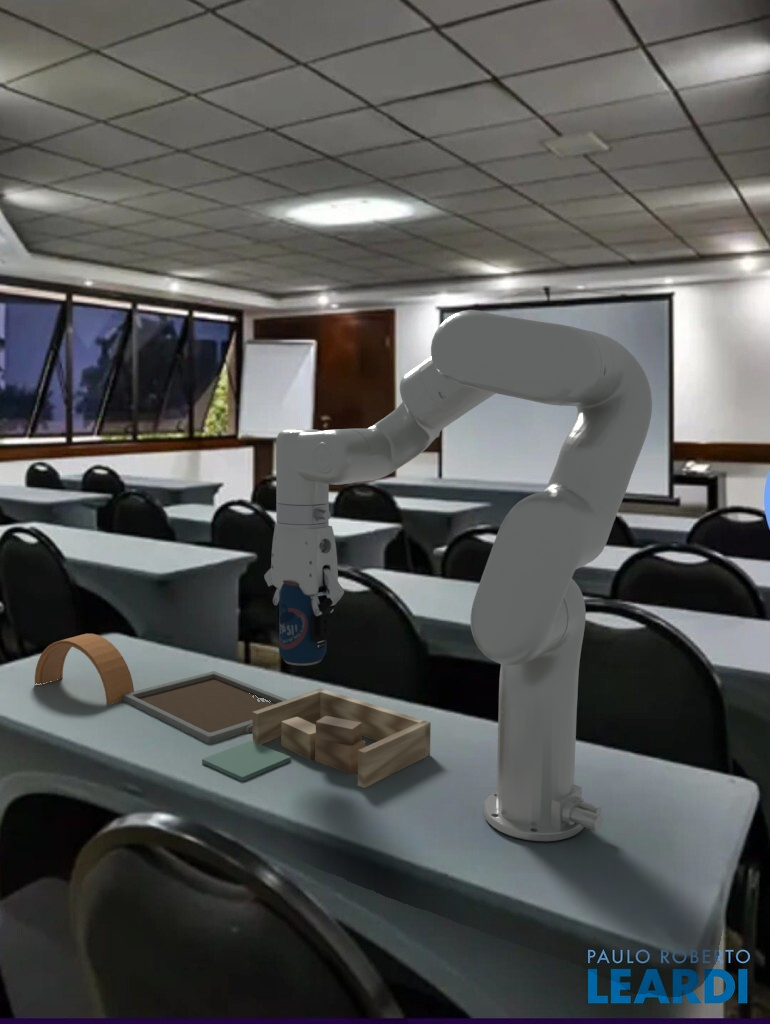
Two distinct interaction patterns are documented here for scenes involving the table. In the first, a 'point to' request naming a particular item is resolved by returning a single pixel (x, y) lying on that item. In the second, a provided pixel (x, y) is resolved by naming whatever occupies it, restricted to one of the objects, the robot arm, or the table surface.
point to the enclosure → (393, 731)
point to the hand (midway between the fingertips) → (302, 634)
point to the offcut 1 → (299, 736)
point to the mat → (246, 760)
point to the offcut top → (339, 730)
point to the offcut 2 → (338, 754)
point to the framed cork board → (204, 705)
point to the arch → (100, 655)
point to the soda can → (297, 627)
